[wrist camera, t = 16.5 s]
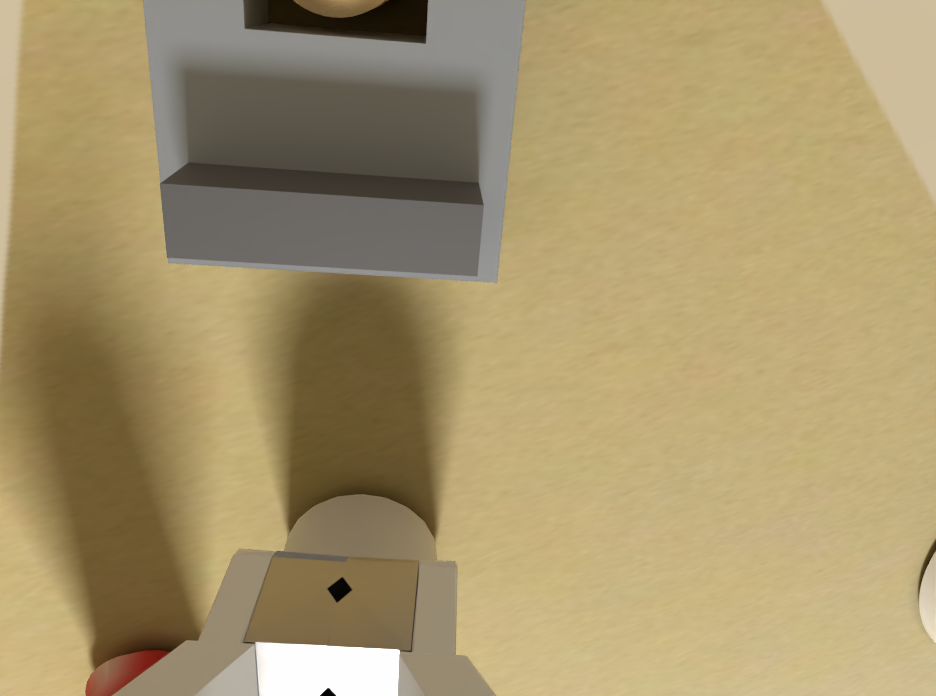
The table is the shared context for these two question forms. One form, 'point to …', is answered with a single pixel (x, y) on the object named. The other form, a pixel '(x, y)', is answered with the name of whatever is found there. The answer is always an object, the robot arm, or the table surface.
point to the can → (362, 530)
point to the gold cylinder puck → (340, 7)
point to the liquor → (121, 671)
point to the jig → (334, 139)
